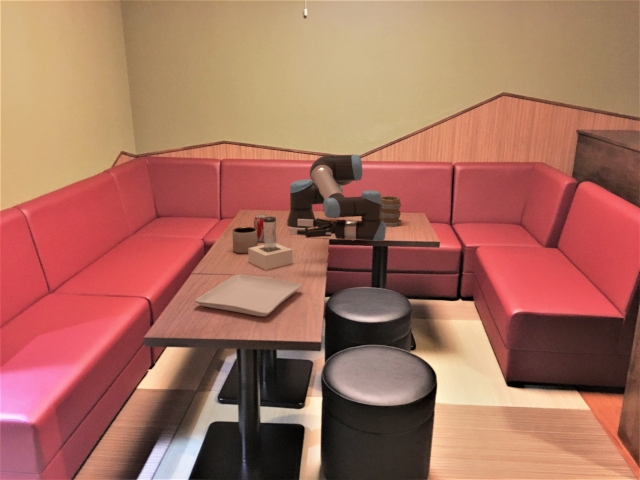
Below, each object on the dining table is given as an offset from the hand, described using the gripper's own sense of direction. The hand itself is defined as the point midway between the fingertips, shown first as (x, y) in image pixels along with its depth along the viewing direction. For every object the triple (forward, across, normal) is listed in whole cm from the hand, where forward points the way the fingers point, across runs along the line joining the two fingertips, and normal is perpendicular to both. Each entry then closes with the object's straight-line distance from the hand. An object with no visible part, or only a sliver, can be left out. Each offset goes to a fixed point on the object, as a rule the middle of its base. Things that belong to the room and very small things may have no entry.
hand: (293, 226), depth 209 cm
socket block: (+10, 0, -16) cm, 19 cm away
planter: (+26, +14, -16) cm, 34 cm away
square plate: (+5, -40, -16) cm, 43 cm away
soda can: (+23, +30, -17) cm, 42 cm away
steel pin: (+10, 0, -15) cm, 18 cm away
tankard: (-30, +75, -17) cm, 82 cm away
